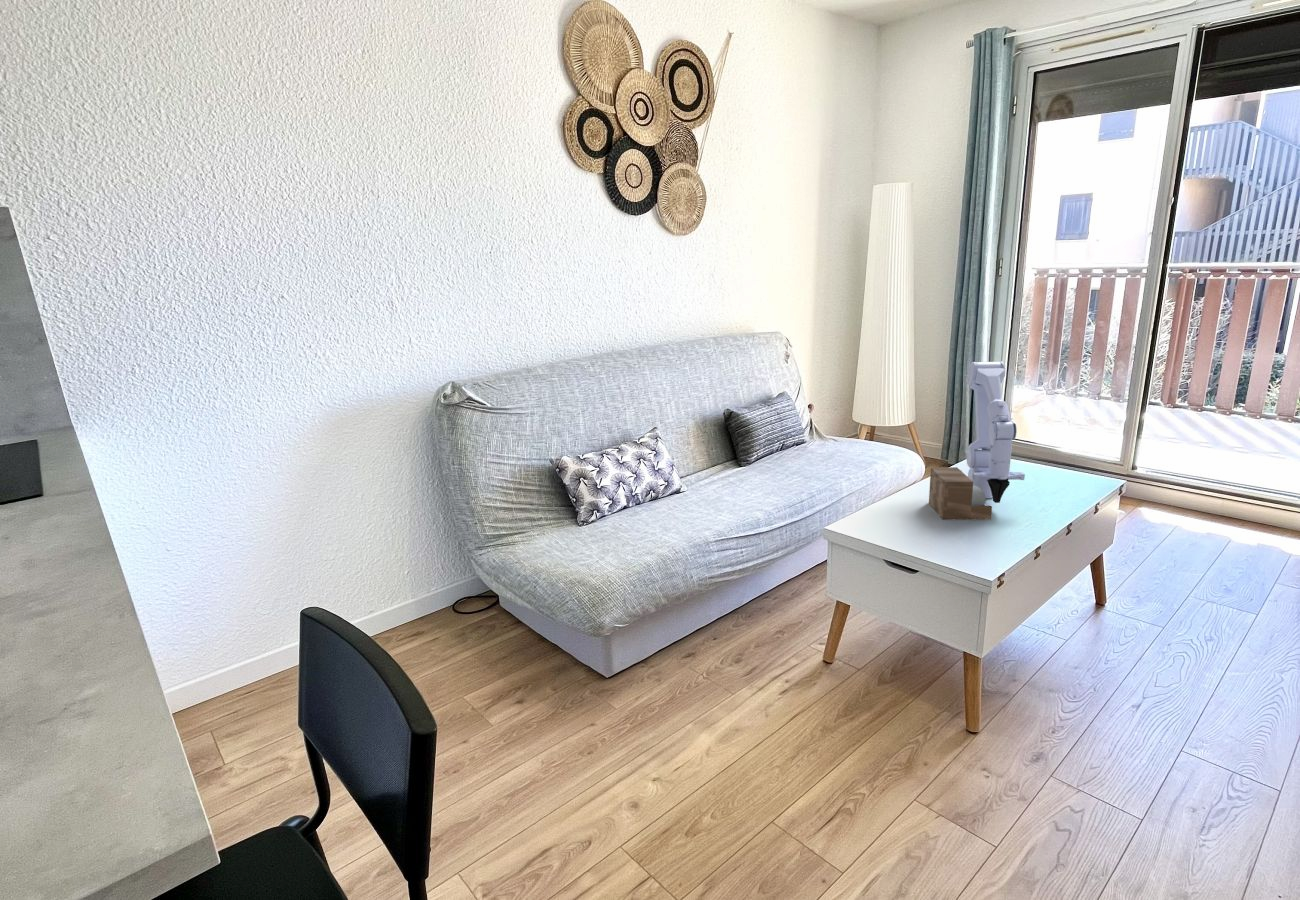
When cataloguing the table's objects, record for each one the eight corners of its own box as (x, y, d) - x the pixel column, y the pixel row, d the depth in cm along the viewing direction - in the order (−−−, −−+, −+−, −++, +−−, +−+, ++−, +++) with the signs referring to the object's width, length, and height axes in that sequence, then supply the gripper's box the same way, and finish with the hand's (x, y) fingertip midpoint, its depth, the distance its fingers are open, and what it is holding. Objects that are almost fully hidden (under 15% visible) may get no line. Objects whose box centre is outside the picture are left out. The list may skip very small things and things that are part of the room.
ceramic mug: (946, 510, 219) (949, 487, 217) (963, 505, 223) (965, 482, 221) (977, 521, 211) (979, 497, 208) (994, 515, 214) (996, 491, 212)
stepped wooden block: (928, 503, 227) (930, 467, 224) (973, 502, 225) (976, 467, 222) (942, 519, 212) (945, 481, 209) (990, 519, 211) (994, 481, 208)
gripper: (979, 463, 210) (976, 506, 214) (1030, 463, 209) (1026, 506, 212) (971, 457, 217) (968, 498, 221) (1021, 456, 215) (1016, 498, 219)
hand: (996, 501), depth 217 cm, fingers closed
